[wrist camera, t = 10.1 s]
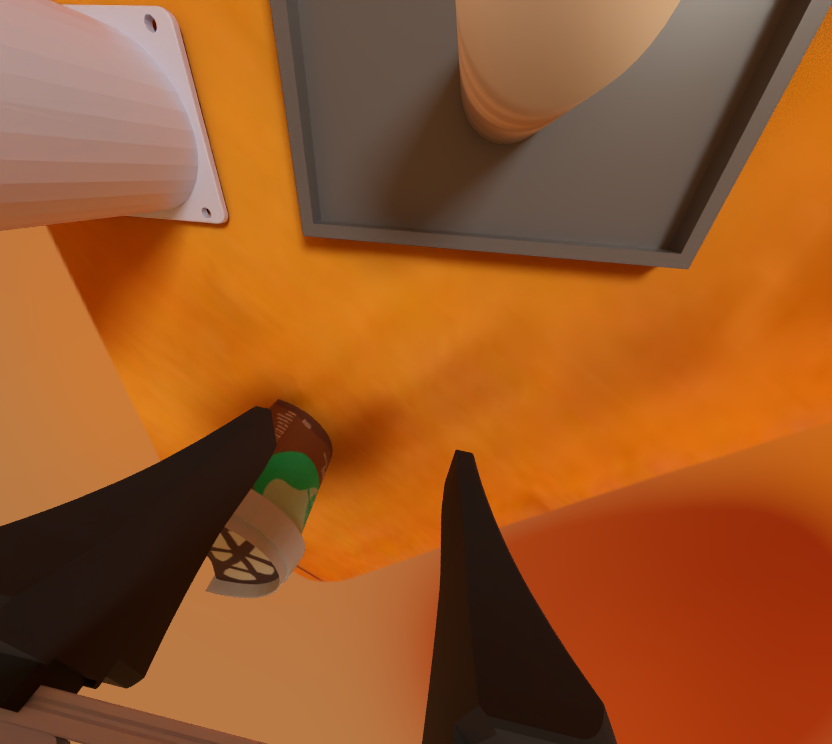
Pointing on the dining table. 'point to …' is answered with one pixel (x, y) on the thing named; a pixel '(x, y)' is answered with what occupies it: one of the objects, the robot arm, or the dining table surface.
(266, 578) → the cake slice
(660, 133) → the tray
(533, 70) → the dowel pin
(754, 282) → the dining table surface
